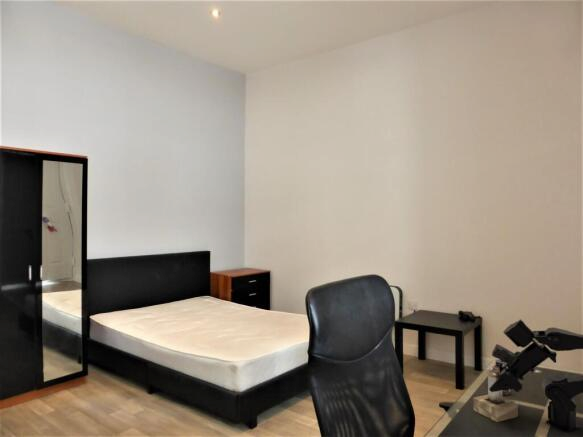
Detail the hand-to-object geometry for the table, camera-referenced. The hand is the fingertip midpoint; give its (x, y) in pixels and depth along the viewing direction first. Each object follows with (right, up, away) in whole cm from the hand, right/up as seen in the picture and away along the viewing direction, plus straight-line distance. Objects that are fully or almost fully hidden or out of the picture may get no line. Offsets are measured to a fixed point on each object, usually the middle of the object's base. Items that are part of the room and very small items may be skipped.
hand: (490, 388), depth 134 cm
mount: (+1, -8, -1) cm, 8 cm away
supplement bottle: (+12, -8, +16) cm, 21 cm away
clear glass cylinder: (+1, -7, -1) cm, 7 cm away
